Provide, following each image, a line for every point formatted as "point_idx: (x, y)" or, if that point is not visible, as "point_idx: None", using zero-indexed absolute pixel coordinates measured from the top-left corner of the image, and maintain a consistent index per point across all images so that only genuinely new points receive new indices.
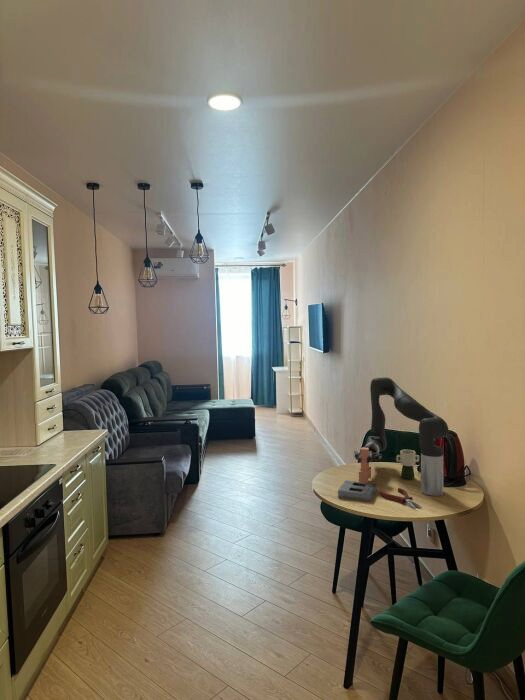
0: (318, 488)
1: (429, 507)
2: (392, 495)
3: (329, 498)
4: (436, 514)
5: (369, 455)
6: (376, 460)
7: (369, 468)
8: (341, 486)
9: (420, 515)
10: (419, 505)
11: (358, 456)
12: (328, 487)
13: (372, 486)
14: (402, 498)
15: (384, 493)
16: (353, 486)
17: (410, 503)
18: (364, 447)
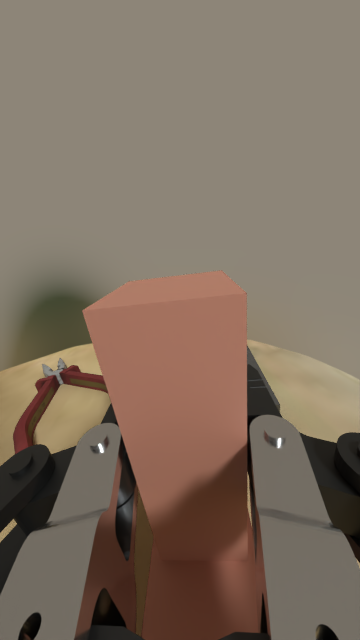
0: (348, 375)
1: (15, 381)
2: (91, 374)
3: (256, 343)
4: (27, 362)
5: (112, 463)
6: (16, 534)
7: (156, 570)
8: (249, 353)
9: (65, 350)
10: (43, 365)
11: (306, 443)
12: (330, 394)
13: None
14: (71, 366)
15: None
16: None
17: (61, 362)
18: (185, 297)
